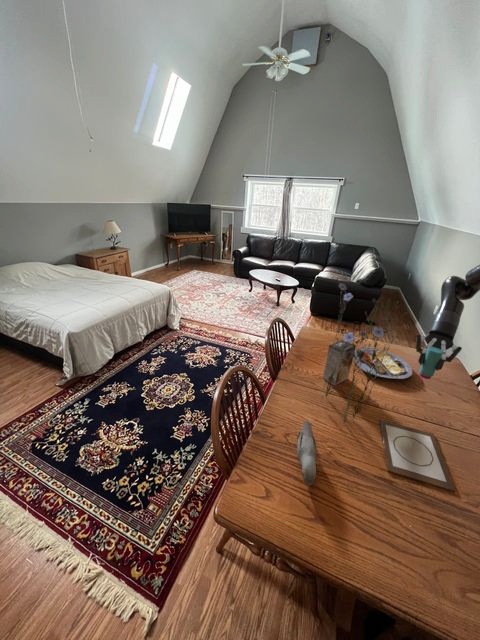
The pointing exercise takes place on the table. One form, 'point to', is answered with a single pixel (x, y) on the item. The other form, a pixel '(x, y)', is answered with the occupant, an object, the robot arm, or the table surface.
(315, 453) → the decorative bird
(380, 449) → the table surface
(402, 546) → the table surface
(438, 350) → the cylinder
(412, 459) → the picture frame
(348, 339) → the wildflower
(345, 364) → the coffee box
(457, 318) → the robot arm
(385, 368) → the food plate
